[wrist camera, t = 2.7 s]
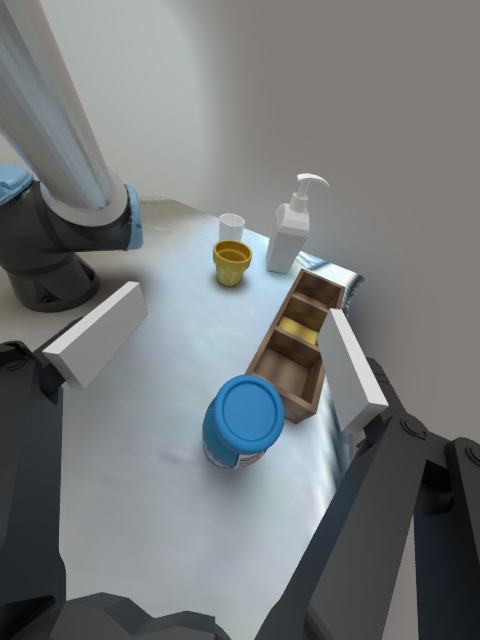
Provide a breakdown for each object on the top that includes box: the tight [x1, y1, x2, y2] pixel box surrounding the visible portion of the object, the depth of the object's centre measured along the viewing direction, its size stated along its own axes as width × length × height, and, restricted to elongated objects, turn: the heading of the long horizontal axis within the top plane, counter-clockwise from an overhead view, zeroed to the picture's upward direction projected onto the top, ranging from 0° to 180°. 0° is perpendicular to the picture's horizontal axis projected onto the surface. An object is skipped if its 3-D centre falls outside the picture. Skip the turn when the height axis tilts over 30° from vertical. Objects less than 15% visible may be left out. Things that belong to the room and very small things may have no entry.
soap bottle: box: [266, 174, 330, 274], centre depth 57 cm, size 12×10×26 cm
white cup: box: [219, 214, 245, 241], centre depth 64 cm, size 8×8×10 cm
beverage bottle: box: [202, 375, 285, 468], centre depth 26 cm, size 8×8×20 cm
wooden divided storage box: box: [245, 269, 345, 424], centre depth 45 cm, size 13×36×8 cm, turn 152°
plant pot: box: [213, 239, 252, 286], centre depth 55 cm, size 10×10×10 cm
